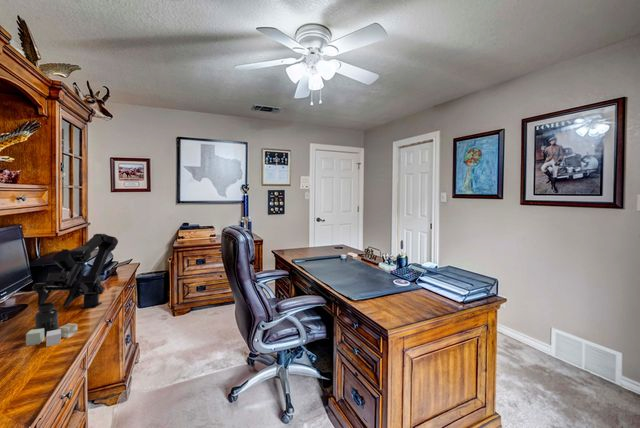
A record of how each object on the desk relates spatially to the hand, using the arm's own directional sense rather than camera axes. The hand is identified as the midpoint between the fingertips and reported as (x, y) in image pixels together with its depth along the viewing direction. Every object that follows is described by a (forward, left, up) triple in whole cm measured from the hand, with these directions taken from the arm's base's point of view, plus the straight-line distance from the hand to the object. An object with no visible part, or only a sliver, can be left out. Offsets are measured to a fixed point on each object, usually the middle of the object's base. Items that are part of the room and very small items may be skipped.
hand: (51, 307), depth 122 cm
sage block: (+10, +2, -10) cm, 14 cm away
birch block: (+4, +10, -10) cm, 15 cm away
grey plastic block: (+10, +9, -10) cm, 17 cm away
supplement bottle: (+2, 0, -10) cm, 10 cm away
